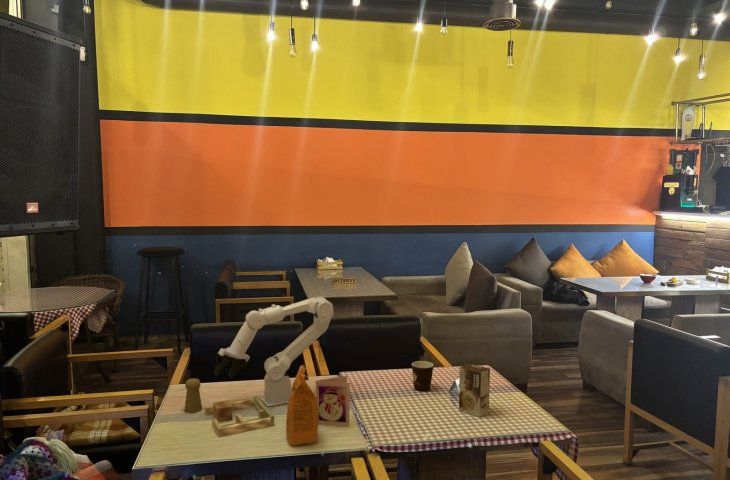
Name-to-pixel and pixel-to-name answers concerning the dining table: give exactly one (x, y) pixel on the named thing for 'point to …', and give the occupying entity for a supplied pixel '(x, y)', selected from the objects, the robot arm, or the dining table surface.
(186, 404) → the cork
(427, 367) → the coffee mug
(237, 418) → the trap lane
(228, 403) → the walnut block
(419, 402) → the dining table surface
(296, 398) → the coffee package
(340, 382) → the greeting card
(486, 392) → the coffee box
